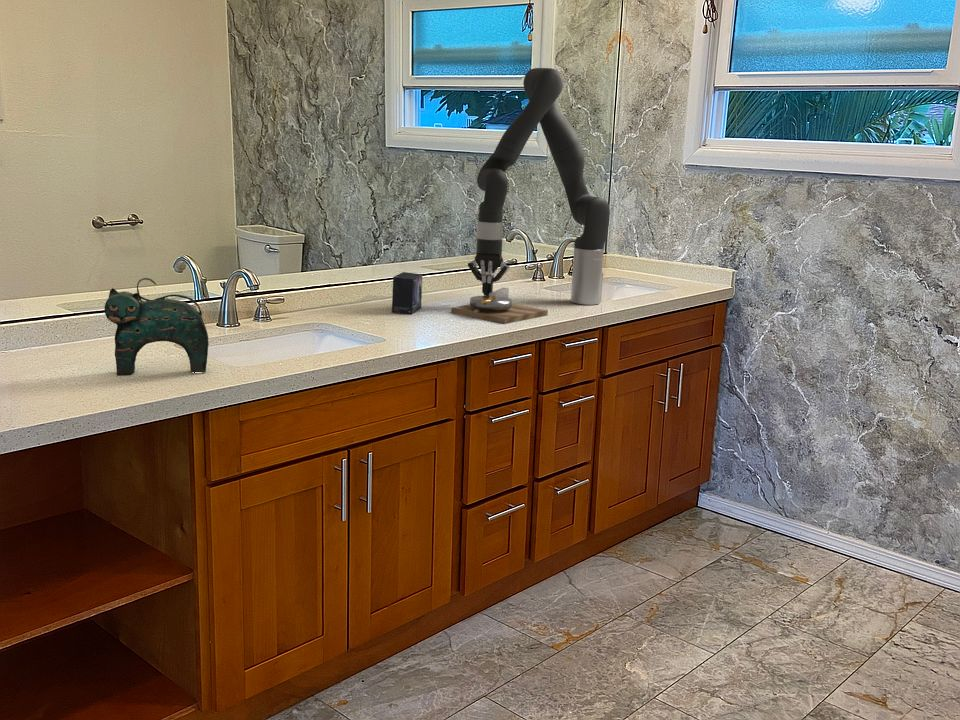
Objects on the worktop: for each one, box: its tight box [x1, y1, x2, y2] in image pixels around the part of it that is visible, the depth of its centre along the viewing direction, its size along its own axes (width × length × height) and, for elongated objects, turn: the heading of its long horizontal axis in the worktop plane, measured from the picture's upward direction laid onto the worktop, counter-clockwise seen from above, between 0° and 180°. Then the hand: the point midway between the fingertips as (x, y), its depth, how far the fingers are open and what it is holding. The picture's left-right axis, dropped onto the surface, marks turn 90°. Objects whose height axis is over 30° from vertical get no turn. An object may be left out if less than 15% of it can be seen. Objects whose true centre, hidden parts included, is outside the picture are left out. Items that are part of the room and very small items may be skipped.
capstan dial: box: [469, 287, 513, 310], centre depth 278 cm, size 20×12×4 cm, turn 160°
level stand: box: [450, 302, 549, 325], centre depth 277 cm, size 20×20×2 cm
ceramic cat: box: [104, 277, 210, 376], centre depth 197 cm, size 20×6×20 cm, turn 103°
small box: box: [391, 271, 423, 315], centre depth 275 cm, size 11×6×10 cm, turn 168°
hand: (487, 295), depth 285 cm, fingers closed
